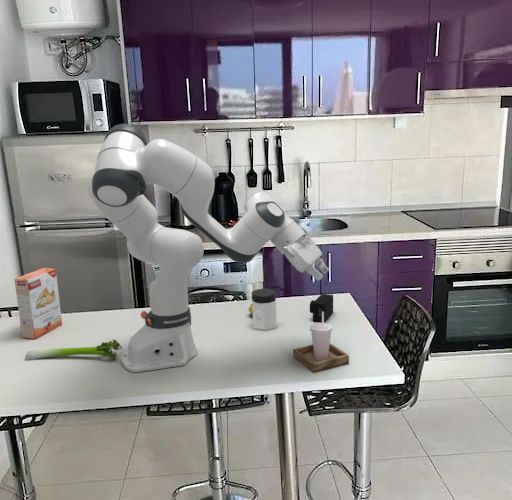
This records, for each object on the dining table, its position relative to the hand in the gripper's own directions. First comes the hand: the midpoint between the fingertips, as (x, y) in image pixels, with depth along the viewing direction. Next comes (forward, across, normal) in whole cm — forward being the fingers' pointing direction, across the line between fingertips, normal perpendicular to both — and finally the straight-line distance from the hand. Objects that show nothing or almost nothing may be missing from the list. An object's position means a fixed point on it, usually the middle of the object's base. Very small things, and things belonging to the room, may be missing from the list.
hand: (324, 275), depth 149 cm
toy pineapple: (-4, +33, +36) cm, 49 cm away
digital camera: (+11, +34, +20) cm, 42 cm away
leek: (-32, -14, +71) cm, 79 cm away
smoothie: (+17, +1, +18) cm, 25 cm away
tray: (+17, 0, +18) cm, 25 cm away
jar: (0, +22, +33) cm, 40 cm away
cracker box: (-51, +3, +87) cm, 101 cm away
